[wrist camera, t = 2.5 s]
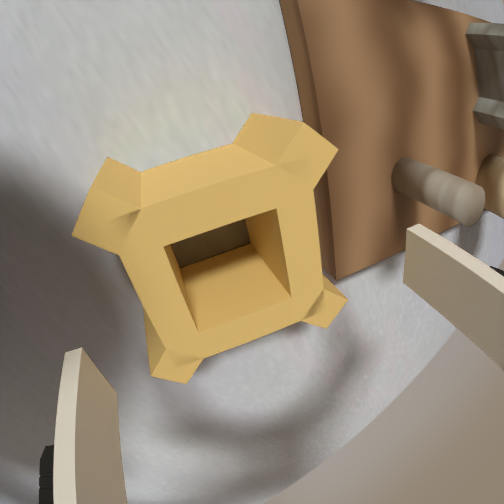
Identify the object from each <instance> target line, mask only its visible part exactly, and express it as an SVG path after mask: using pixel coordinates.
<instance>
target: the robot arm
mask: <svg viewBox="0 0 504 504" xmlns="http://www.w3.org/2000/svg"><path fill="white" fill-rule="evenodd" d="M403 283H404V284H406V285H407V286H408V287H409V288H411V289H412V290H413V291H414V292H415V293H417V294H418V295H419V296H420V297H421V298H423V299H424V300H425V301H426V302H427V303H429V304H430V305H431V306H432V307H433V308H434V309H436V310H437V311H438V312H439V313H440V314H441V315H443V316H444V317H445V318H446V319H447V320H448V321H450V322H451V323H452V324H453V325H454V326H455V327H456V328H458V329H459V330H460V331H461V332H462V333H463V334H464V335H466V336H467V337H468V338H469V339H470V340H471V341H472V342H473V343H474V344H476V345H477V346H478V347H479V348H480V349H481V350H482V351H483V352H484V353H485V354H486V355H488V357H490V358H491V359H492V360H493V361H494V362H495V363H496V364H497V365H498V366H499V367H500V368H501V369H502V370H503V371H504V271H502V270H500V269H497V268H495V267H492V266H487V265H486V264H484V263H483V262H481V261H480V260H478V259H477V258H475V257H474V256H472V255H470V254H469V253H467V252H466V251H464V250H463V249H461V248H459V247H458V246H456V245H455V244H453V243H451V242H450V241H448V240H446V239H445V238H443V237H441V236H440V235H438V234H436V233H435V232H433V231H431V230H430V229H428V228H426V227H424V226H423V225H421V224H417V225H414V226H412V227H410V228H407V231H406V250H405V265H404V277H403ZM40 476H41V477H39V486H40V489H39V504H128V503H127V497H126V490H125V483H124V475H123V467H122V458H121V447H120V435H119V421H118V402H117V393H116V391H115V390H114V389H113V388H112V386H111V385H110V384H109V383H108V381H107V380H106V379H105V378H104V376H103V375H102V374H101V372H100V371H99V370H98V368H97V367H96V366H95V364H94V363H93V362H92V360H91V359H90V358H89V356H88V355H87V354H86V352H85V351H84V349H83V348H82V347H81V348H78V349H75V350H72V351H68V352H65V356H64V362H63V368H62V374H61V381H60V389H59V397H58V406H57V415H56V427H55V441H54V445H51V446H45V449H44V451H43V454H42V457H41V459H40Z"/></svg>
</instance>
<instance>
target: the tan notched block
mask: <svg viewBox="0 0 504 504" xmlns="http://www.w3.org/2000/svg"><path fill="white" fill-rule="evenodd" d="M338 150H339V149H338V148H336V147H335V146H334V145H333V144H331V143H330V142H329V141H328V140H326V139H325V138H324V137H322V136H321V135H320V134H319V133H317V132H316V131H315V130H313V129H312V128H311V127H309V126H308V125H307V124H305V123H304V122H301V121H296V120H290V119H285V118H279V117H273V116H267V115H261V114H255V113H251V115H250V117H249V118H248V120H247V121H246V123H245V124H244V126H243V128H242V129H241V131H240V132H239V134H238V136H237V137H236V139H235V141H234V142H233V144H229V145H225V146H222V147H218V148H215V149H211V150H208V151H205V152H201V153H198V154H195V155H191V156H188V157H185V158H182V159H179V160H176V161H173V162H170V163H167V164H163V165H161V166H158V167H155V168H152V169H149V170H146V171H143V172H139V171H137V170H134V169H132V168H130V167H128V166H126V165H124V164H122V163H120V162H117V161H115V160H113V159H111V158H109V157H107V159H106V161H105V162H104V164H103V166H102V168H101V169H100V171H99V173H98V175H97V176H96V178H95V180H94V182H93V184H92V185H91V188H90V190H89V192H88V195H87V197H86V199H85V202H84V204H83V207H82V209H81V212H80V214H79V217H78V219H77V222H76V225H75V227H74V230H73V233H72V235H71V236H74V237H76V238H78V239H81V240H83V241H85V242H88V243H90V244H93V245H95V246H98V247H100V248H102V249H105V250H107V251H110V252H112V253H115V254H117V255H119V256H120V258H121V260H122V263H123V265H124V267H125V269H126V271H127V273H128V276H129V278H130V280H131V282H132V284H133V286H134V288H135V290H136V292H137V294H138V296H139V298H140V300H141V302H142V304H143V312H144V323H145V333H146V342H147V351H148V359H149V367H150V374H151V376H152V377H157V378H161V379H166V380H170V381H175V382H180V383H184V384H187V382H188V381H189V379H190V378H191V376H192V375H193V374H194V372H195V371H196V369H197V368H198V366H199V365H200V363H201V362H202V360H203V359H204V358H206V357H209V356H212V355H215V354H217V353H220V352H223V351H226V350H228V349H231V348H234V347H236V346H239V345H242V344H244V343H247V342H249V341H252V340H255V339H257V338H260V337H262V336H265V335H267V334H270V333H272V332H275V331H277V330H280V329H282V328H284V327H287V326H289V325H292V324H294V323H296V322H299V321H303V322H306V323H309V324H313V325H316V326H319V327H322V328H325V329H327V327H328V326H329V325H330V323H331V322H332V321H333V319H334V318H335V317H336V315H337V314H338V313H339V311H340V310H341V309H342V307H343V306H344V305H345V303H346V302H347V300H348V299H347V298H346V297H345V296H344V295H343V294H342V293H341V292H340V291H339V290H338V289H337V288H336V287H335V286H334V285H333V284H332V283H331V282H330V281H329V280H328V279H327V278H326V277H325V276H324V275H323V274H322V265H321V254H320V244H319V235H318V225H317V216H316V208H315V200H314V192H313V190H314V188H315V186H316V185H317V183H318V182H319V180H320V178H321V177H322V175H323V174H324V172H325V170H326V169H327V167H328V166H329V164H330V162H331V161H332V159H333V158H334V156H335V154H336V153H337V151H338ZM242 219H245V222H246V226H247V230H248V235H249V239H250V243H251V244H248V245H245V246H242V247H239V248H237V249H234V250H231V251H228V252H225V253H222V254H219V255H217V256H214V257H211V258H208V259H205V260H202V261H200V262H197V263H194V264H191V265H188V266H185V267H183V268H179V265H178V263H177V260H176V257H175V255H174V252H173V249H172V246H171V244H172V243H175V242H178V241H181V240H184V239H187V238H189V237H192V236H195V235H198V234H201V233H204V232H207V231H210V230H213V229H216V228H218V227H221V226H224V225H227V224H230V223H233V222H236V221H239V220H242Z"/></svg>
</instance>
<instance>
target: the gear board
mask: <svg viewBox="0 0 504 504" xmlns="http://www.w3.org/2000/svg"><path fill="white" fill-rule="evenodd" d="M279 1H280V5H281V10H282V14H283V18H284V23H285V27H286V32H287V36H288V41H289V46H290V51H291V56H292V61H293V66H294V71H295V76H296V81H297V87H298V92H299V98H300V104H301V109H302V115H303V121H304V123H305V124H307V125H308V126H309V127H311V128H312V129H313V130H315V131H316V132H317V133H319V134H320V135H321V136H322V137H324V138H325V139H326V140H328V141H329V142H330V143H331V144H333V145H334V146H335V147H336V148H338V149H339V150H338V151H337V153H336V154H335V156H334V158H333V159H332V161H331V162H330V164H329V166H328V167H327V169H326V170H325V172H324V174H323V175H322V177H321V178H320V180H319V182H318V183H317V185H316V186H315V188H314V198H315V206H316V215H317V224H318V233H319V243H320V253H321V263H322V267H323V268H324V269H325V270H326V271H327V272H328V273H329V274H330V275H331V276H332V277H333V278H334V279H335V280H339V279H341V278H343V277H345V276H348V275H350V274H352V273H355V272H357V271H359V270H362V269H364V268H366V267H368V266H371V265H373V264H375V263H377V262H379V261H382V260H384V259H386V258H388V257H390V256H393V255H395V254H397V253H399V252H401V251H403V250H405V249H406V231H407V228H410V227H412V226H414V225H417V224H421V225H423V226H424V227H426V228H428V229H430V230H431V231H433V232H435V233H436V234H439V233H441V232H443V231H445V230H447V229H449V228H451V227H453V226H455V225H457V224H459V223H461V224H462V225H464V226H466V227H471V226H473V225H474V224H475V223H476V222H477V221H478V219H479V218H480V216H481V214H482V211H484V210H488V211H490V212H492V213H494V214H496V215H498V216H500V217H502V218H503V219H504V24H498V23H490V22H488V21H485V20H482V19H479V18H476V17H473V16H470V15H467V14H463V13H460V12H457V11H453V10H450V9H446V8H442V7H438V6H434V5H430V4H426V3H421V2H416V1H412V0H279Z"/></svg>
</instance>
